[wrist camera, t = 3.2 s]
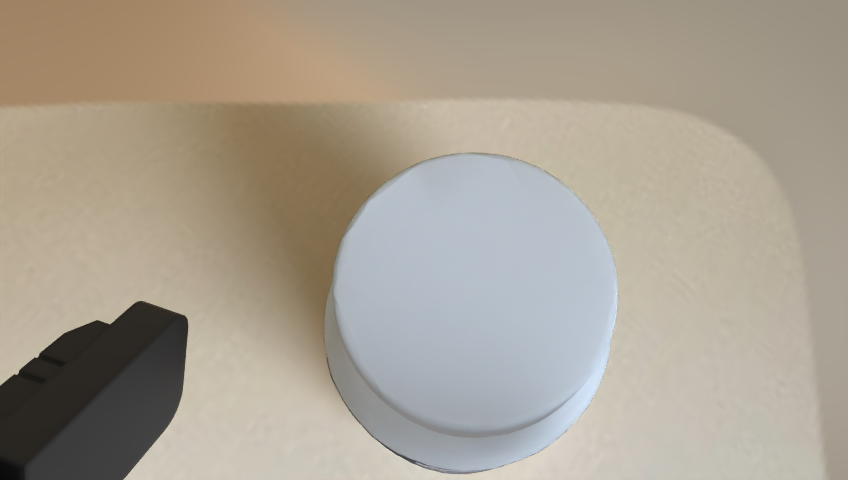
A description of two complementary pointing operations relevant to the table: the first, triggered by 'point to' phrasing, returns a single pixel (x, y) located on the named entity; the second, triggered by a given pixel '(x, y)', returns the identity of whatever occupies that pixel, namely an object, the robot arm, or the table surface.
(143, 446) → the robot arm
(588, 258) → the pill bottle
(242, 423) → the table surface
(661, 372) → the table surface
